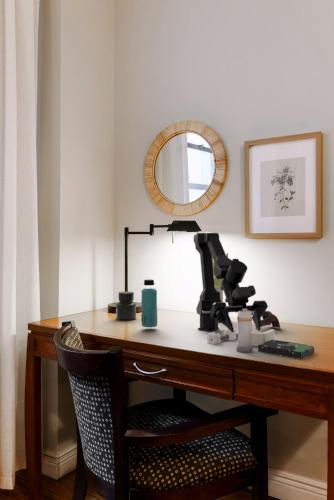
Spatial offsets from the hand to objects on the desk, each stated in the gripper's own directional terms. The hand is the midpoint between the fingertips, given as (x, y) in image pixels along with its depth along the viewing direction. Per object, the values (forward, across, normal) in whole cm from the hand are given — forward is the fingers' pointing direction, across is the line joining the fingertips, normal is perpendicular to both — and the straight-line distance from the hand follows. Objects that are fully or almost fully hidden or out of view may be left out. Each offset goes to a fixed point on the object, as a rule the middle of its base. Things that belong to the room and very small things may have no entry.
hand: (246, 330), depth 141 cm
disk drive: (+8, +12, +3) cm, 15 cm away
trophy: (-32, +10, +41) cm, 53 cm away
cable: (-7, +4, +15) cm, 17 cm away
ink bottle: (-42, -28, +52) cm, 73 cm away
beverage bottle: (-24, -23, +34) cm, 48 cm away
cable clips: (-7, +2, +17) cm, 19 cm away
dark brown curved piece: (-17, +24, +27) cm, 39 cm away
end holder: (-3, +9, +12) cm, 15 cm away
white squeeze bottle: (+4, 0, +6) cm, 7 cm away
